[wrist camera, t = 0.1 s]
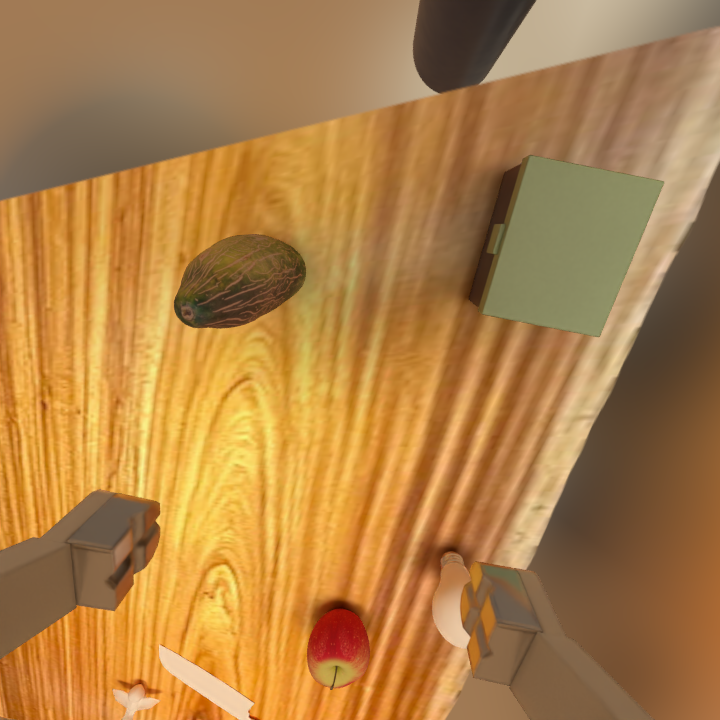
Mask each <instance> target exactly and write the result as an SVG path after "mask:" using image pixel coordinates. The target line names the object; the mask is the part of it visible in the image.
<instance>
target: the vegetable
mask: <svg viewBox="0 0 720 720" xmlns="http://www.w3.org/2000/svg"><path fill="white" fill-rule="evenodd" d="M305 277H306V267H305V263H304V261H303V259H302V257H301V255H300V254H299V253H298V252H297V251H296V250H295V249H294V248H292V247H291V246H289V245H288V244H286V243H284V242H282V241H280V240H277V239H274V238H272V237H269V236H265V235H258V234H250V235H237V236H232V237H228V238H226V239H224V240H221V241H219V242H218V243H216V244H214V245H213V246H211V247H210V248H208V249H206V250H205V251H203V252H202V253H200V254H199V255H198V256H197V257H196V258H195V259H194V260H193V261H192V262H191V263H190V264H189V265H188V266H187V268H186V270H185V272H184V275H183V278H182V281H181V286H180V288H179V290H178V293H177V295H176V297H175V300H174V310H175V313H176V315H177V317H178V318H179V319H180V320H181V321H182V322H183V323H184V324H186V325H188V326H191V327H193V328H207V327H209V328H231V327H237V326H241V325H244V324H247V323H249V322H252V321H254V320H256V319H257V318H259V317H260V316H262V315H264V314H267V313H269V312H270V311H272V310H274V309H275V308H277V307H278V306H279V305H281V304H282V303H283V302H285V301H286V300H288V299H289V298H291V297H292V296H293V295H294V294H295V293H297V292H298V291H299V289H300V288H301V287H302V285H303V283H304V281H305Z"/></svg>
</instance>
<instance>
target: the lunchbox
mask: <svg viewBox="0 0 720 720" xmlns="http://www.w3.org/2000/svg"><path fill="white" fill-rule="evenodd" d="M663 184H664V181H659V180H654V179H649V178H644V177H639V176H634V175H629V174H624V173H619V172H614V171H609V170H604V169H599V168H594V167H588V166H583V165H578V164H573V163H568V162H563V161H558V160H553V159H548V158H543V157H538V156H533V155H529V156H527V157H525V158H524V159H523V160H522V164H520V165H518V166H516V167H514V168H512V169H510V170H508V171H506V172H505V173H504V176H503V180H502V184H501V187H500V191H499V194H498V198H497V201H496V205H495V208H494V212H493V215H492V219H491V222H490V226H489V229H488V233H487V236H486V240H485V243H484V247H483V250H482V254H481V257H480V261H479V264H478V268H477V271H476V275H475V278H474V282H473V285H472V289H471V292H470V296H469V300H470V301H471V302H472V303H473V304H475V305H476V306H477V307H479V309H478V311H479V312H480V313H481V314H483V315H488V316H493V317H498V318H503V319H508V320H513V321H518V322H524V323H529V324H534V325H539V326H544V327H549V328H554V329H559V330H564V331H569V332H575V333H580V334H585V335H590V336H595V337H600V335H601V333H602V330H603V328H604V325H605V323H606V321H607V318H608V316H609V313H610V311H611V309H612V306H613V304H614V302H615V299H616V297H617V294H618V292H619V290H620V287H621V285H622V282H623V280H624V278H625V275H626V273H627V270H628V268H629V266H630V263H631V261H632V259H633V256H634V254H635V251H636V249H637V247H638V244H639V242H640V239H641V237H642V235H643V232H644V230H645V227H646V225H647V223H648V220H649V218H650V216H651V213H652V211H653V208H654V206H655V204H656V201H657V199H658V196H659V194H660V192H661V189H662V187H663Z"/></svg>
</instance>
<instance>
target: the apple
mask: <svg viewBox="0 0 720 720" xmlns="http://www.w3.org/2000/svg"><path fill="white" fill-rule="evenodd" d="M369 656H370V648H369V640H368V636H367V632H366V630H365V627H364V625H363V623H362V621H361V619H360V618H359V617H358V616H357V615H356V614H355V613H353V612H351V611H349V610H346V609H334V610H332V611H329V612H328V613H326V614H325V615H323V616H322V617H321V618H320V619H319V621H318V622H317V623H316V625H315V626H314V628H313V630H312V633H311V635H310V638H309V642H308V648H307V661H308V667H309V670H310V673H311V675H312V676H313V678H314V679H315V680H316V681H317V682H318V683H320V684H322V685H324V686H326V687H330V690H332V689H333V688H341V687H345V686H347V685H349V684H351V683H353V682H354V681H356V680H357V679H359V678H360V677H361V676H362V675H363V674H364V673H365V671H366V669H367V667H368V663H369Z"/></svg>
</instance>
